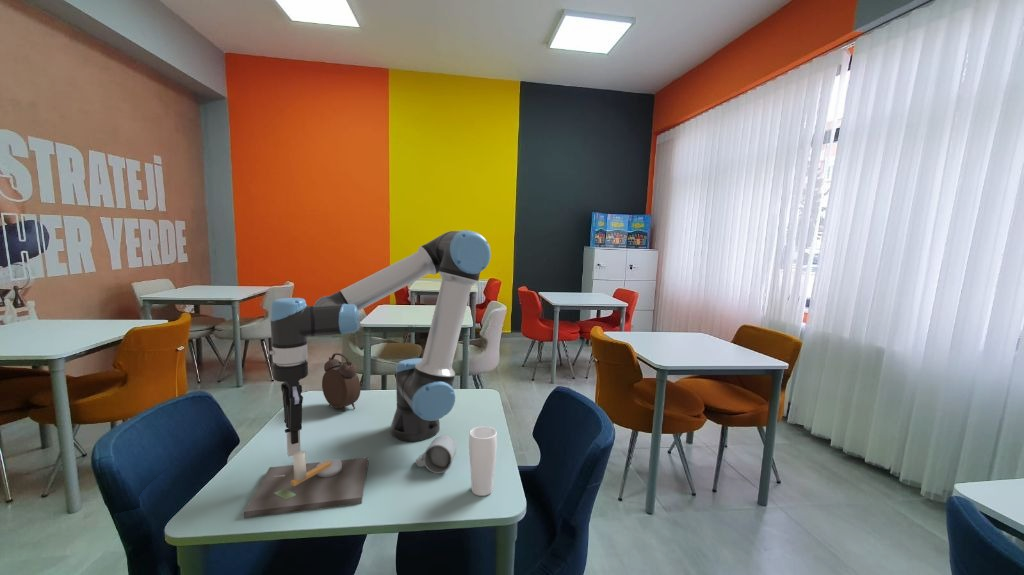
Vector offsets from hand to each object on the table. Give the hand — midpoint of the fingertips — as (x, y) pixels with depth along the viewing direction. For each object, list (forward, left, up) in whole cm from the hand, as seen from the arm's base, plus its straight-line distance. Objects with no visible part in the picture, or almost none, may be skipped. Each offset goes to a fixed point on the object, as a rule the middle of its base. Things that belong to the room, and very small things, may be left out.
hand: (294, 453), depth 103 cm
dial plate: (-5, +5, -7) cm, 10 cm away
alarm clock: (-5, -44, -7) cm, 45 cm away
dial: (-6, +3, -5) cm, 8 cm away
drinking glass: (-45, +15, -7) cm, 48 cm away
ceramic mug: (-35, +1, -7) cm, 36 cm away
